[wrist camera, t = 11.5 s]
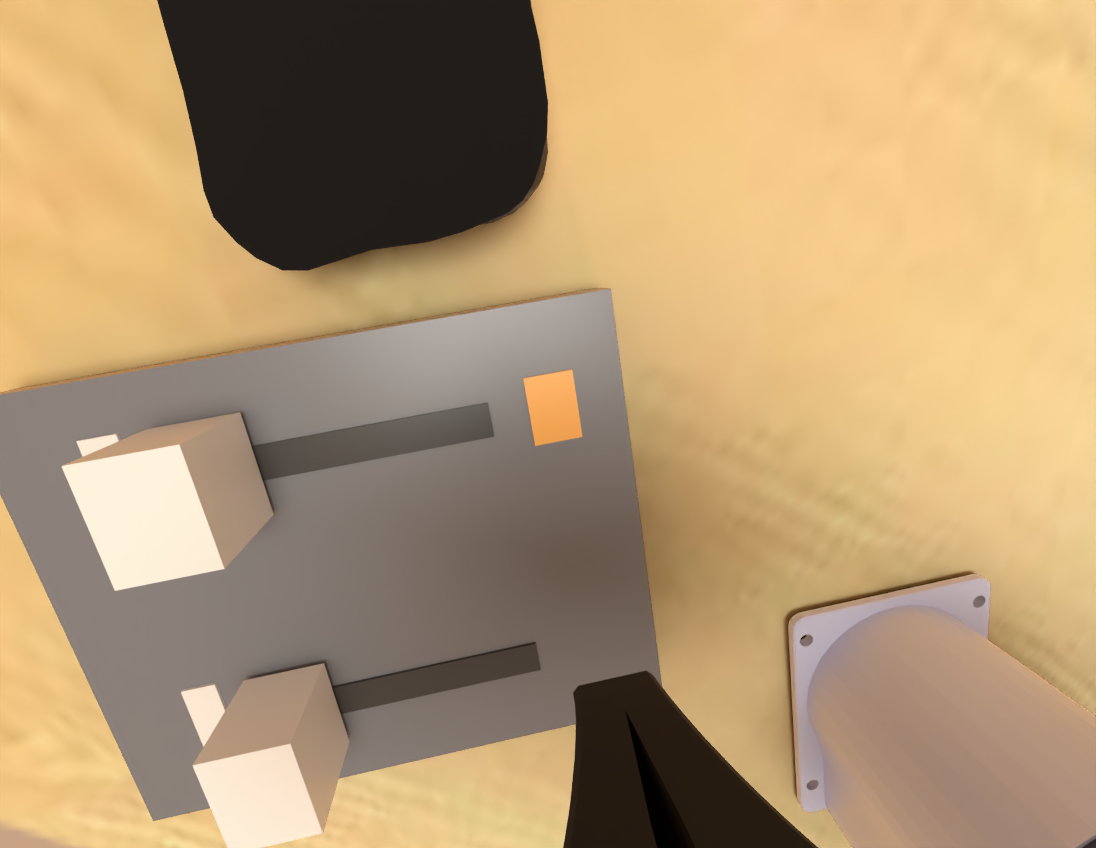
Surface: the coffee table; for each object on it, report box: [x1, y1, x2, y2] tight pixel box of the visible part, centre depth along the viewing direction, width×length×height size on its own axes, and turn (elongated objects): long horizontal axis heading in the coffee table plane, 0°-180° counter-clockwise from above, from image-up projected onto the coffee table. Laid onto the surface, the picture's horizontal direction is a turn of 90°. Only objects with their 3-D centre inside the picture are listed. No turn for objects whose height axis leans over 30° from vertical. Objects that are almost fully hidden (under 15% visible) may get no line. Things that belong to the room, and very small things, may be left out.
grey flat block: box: [0, 288, 662, 821], centre depth 17 cm, size 14×17×2 cm
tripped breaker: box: [61, 412, 274, 591], centre depth 13 cm, size 3×2×3 cm
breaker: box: [192, 663, 349, 848], centre depth 15 cm, size 3×2×3 cm
